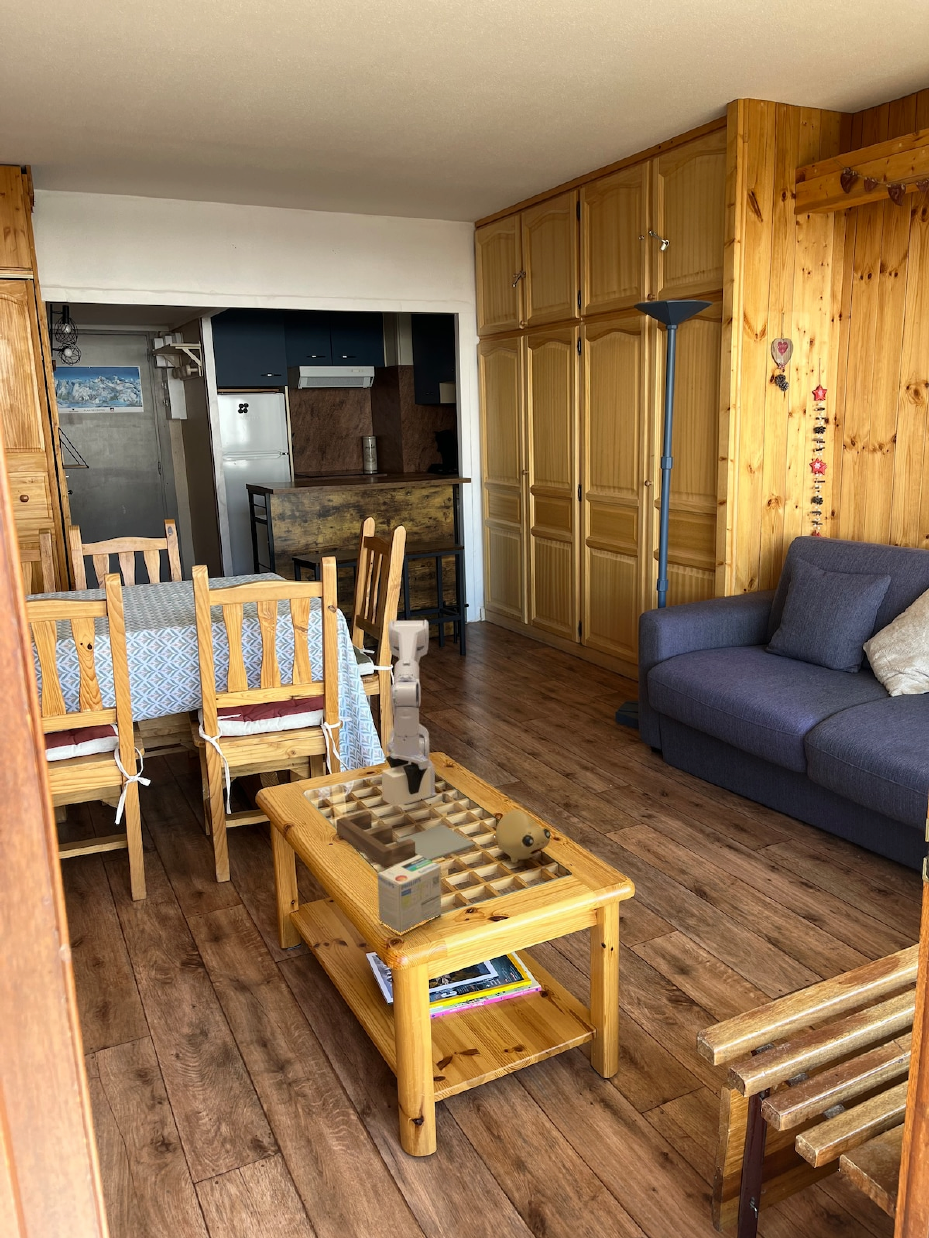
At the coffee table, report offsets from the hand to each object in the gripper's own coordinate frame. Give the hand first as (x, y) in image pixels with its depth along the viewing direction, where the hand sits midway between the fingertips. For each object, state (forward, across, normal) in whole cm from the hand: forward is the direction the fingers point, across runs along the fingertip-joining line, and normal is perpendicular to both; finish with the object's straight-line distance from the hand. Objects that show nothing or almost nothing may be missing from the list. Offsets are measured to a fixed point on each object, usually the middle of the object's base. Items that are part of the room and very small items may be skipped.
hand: (407, 789), depth 219 cm
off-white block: (+2, 0, 0) cm, 2 cm away
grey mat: (+9, +12, 0) cm, 15 cm away
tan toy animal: (+9, +28, +11) cm, 32 cm away
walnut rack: (+9, +4, -11) cm, 15 cm away
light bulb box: (+9, +35, -22) cm, 42 cm away
